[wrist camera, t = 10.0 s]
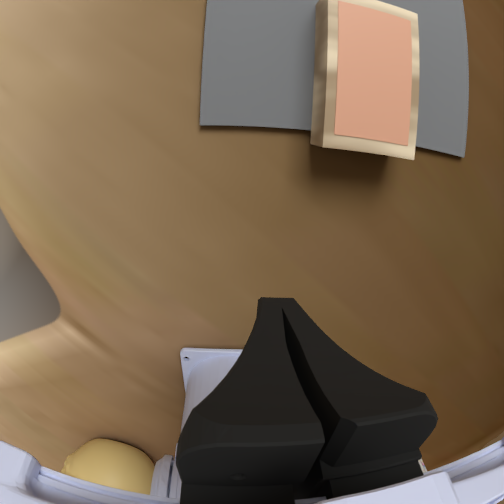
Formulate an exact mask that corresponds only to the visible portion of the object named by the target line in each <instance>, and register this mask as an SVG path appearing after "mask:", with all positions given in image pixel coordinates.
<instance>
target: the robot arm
mask: <svg viewBox="0 0 504 504" xmlns="http://www.w3.org/2000/svg"><path fill="white" fill-rule="evenodd" d="M180 356H181V364H182V371H183V379H184V386H185V392H186V397H185V404H184V411H183V419H182V426H181V434H180V437H179V441H178V443H177V445H176V452H175V460H174V458H173V456H172V455H164V456H163V458H161V459H160V460H158V461H157V462H156V464H155V468H154V472H153V477H152V483H151V491H150V495H147V494H141V493H136V492H131V491H126V490H121V489H116V488H112V487H108V486H104V485H100V484H96V483H92V482H89V481H85V480H82V479H78V478H75V477H72V476H69V475H66V474H63V473H60V472H57V471H54V470H51V469H49V468H46V467H43V466H41V465H40V463H39V462H38V461H37V460H36V458H34V457H33V456H32V455H31V454H29V453H28V452H26V451H24V450H22V449H20V448H17V447H15V446H13V445H11V444H8V443H6V442H4V441H0V504H496V503H498V502H499V501H501V500H503V499H504V437H503V438H502V440H500V441H498V442H496V443H494V444H492V445H490V446H488V447H486V448H484V449H482V450H480V451H478V452H475V453H473V454H471V455H469V456H467V457H464V458H462V459H459V460H457V461H455V462H452V463H450V464H447V465H444V466H442V467H439V468H436V469H434V470H431V471H428V472H425V473H423V472H422V469H421V467H420V464H419V462H418V460H420V459H421V457H422V455H421V453H420V450H419V447H420V446H421V445H422V444H423V442H424V441H425V440H426V439H427V438H428V436H429V435H430V434H431V433H432V431H433V430H434V428H435V426H436V424H437V420H438V417H437V414H436V412H435V410H434V408H433V406H432V405H431V403H430V401H429V399H428V397H427V396H426V394H425V393H422V392H420V391H417V390H414V389H412V388H409V387H406V386H404V385H401V384H399V383H397V382H395V381H392V380H390V379H388V378H386V377H384V376H382V375H381V374H379V373H377V372H375V371H373V370H372V369H370V368H369V367H367V366H365V365H364V364H362V363H361V362H359V361H358V360H356V359H355V358H353V357H352V356H351V355H349V354H348V353H347V352H345V351H344V350H343V349H342V348H340V347H339V346H338V345H337V344H336V343H335V342H334V341H332V340H331V339H330V338H329V337H328V336H327V335H326V334H325V333H324V332H323V331H322V330H321V329H320V328H319V327H318V326H317V325H316V324H315V323H314V322H313V320H312V319H311V318H310V317H309V316H308V315H307V314H306V312H305V311H304V310H303V309H302V308H301V306H300V305H299V304H298V303H297V302H296V301H295V299H294V298H266V297H261V298H260V299H259V300H258V307H257V318H256V321H255V324H254V327H253V330H252V332H251V334H250V336H249V339H248V341H247V343H246V345H245V347H244V349H203V348H183V349H181V352H180ZM185 357H188V358H185Z"/></svg>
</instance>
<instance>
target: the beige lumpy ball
mask: <svg viewBox="0 0 504 504" xmlns="http://www.w3.org/2000/svg"><path fill="white" fill-rule="evenodd" d="M154 468H155V466H154V464H153V462H152V461H151V459H150V458H149V457H148V456H147V455H146V454H145V453H144V452H142V451H141V450H139V449H137V448H135V447H133V446H130V445H127V444H124V443H121V442H117V441H113V440H109V439H101V438H99V439H93V440H91V441H89V442H87V443H85V444H84V445H83V446H81V447H80V448H79V449H78V450H77V451H76V452H74V453H73V454H71V455H69V456H68V457H67V460H65V462H64V467H63V469H62V470H61V472H60V473H63V474H66V475H69V476H72V477H75V478H78V479H82V480H85V481H89V482H92V483H96V484H100V485H104V486H108V487H112V488H116V489H121V490H126V491H131V492H136V493H141V494H147V495H150V491H151V483H152V477H153V472H154Z"/></svg>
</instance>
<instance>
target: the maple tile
mask: <svg viewBox="0 0 504 504" xmlns="http://www.w3.org/2000/svg"><path fill="white" fill-rule="evenodd" d="M418 106H419V30H418V14H417V13H414V12H411V11H408V10H406V9H403V8H400V7H397V6H394V5H391V4H388V3H384V2H381V1H378V0H319V1H318V2H317V4H316V20H315V62H314V86H313V106H312V124H311V139H310V144H312V145H316V146H320V147H325V148H335V149H343V150H352V151H359V152H367V153H374V154H381V155H387V156H393V157H399V158H405V159H411V160H414V156H415V146H416V135H417V122H418Z"/></svg>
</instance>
